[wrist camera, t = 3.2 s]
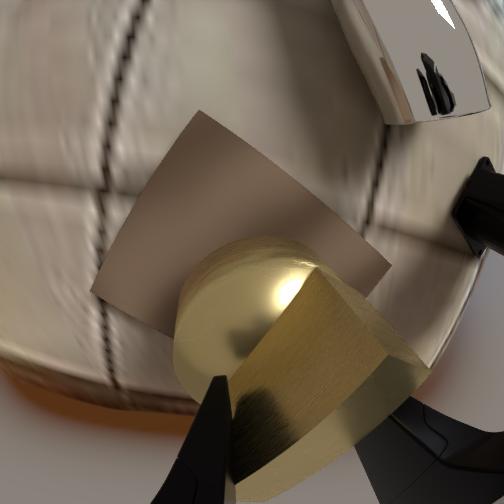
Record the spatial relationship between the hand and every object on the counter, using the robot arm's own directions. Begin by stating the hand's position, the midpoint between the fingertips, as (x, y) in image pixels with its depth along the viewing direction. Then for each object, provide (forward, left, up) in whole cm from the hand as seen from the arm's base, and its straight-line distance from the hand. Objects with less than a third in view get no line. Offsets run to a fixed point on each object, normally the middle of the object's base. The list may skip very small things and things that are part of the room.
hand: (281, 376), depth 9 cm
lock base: (0, 0, -8) cm, 9 cm away
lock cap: (0, +1, -4) cm, 4 cm away
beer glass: (+11, -21, -6) cm, 25 cm away
